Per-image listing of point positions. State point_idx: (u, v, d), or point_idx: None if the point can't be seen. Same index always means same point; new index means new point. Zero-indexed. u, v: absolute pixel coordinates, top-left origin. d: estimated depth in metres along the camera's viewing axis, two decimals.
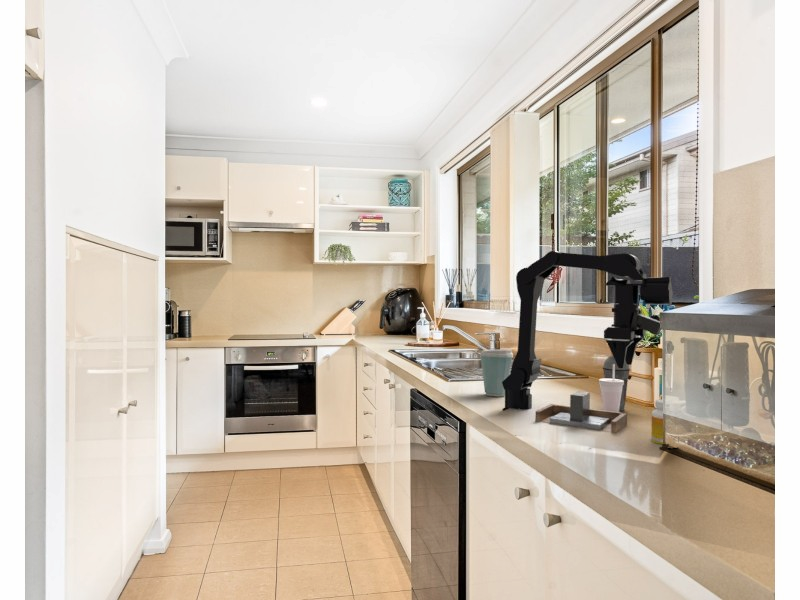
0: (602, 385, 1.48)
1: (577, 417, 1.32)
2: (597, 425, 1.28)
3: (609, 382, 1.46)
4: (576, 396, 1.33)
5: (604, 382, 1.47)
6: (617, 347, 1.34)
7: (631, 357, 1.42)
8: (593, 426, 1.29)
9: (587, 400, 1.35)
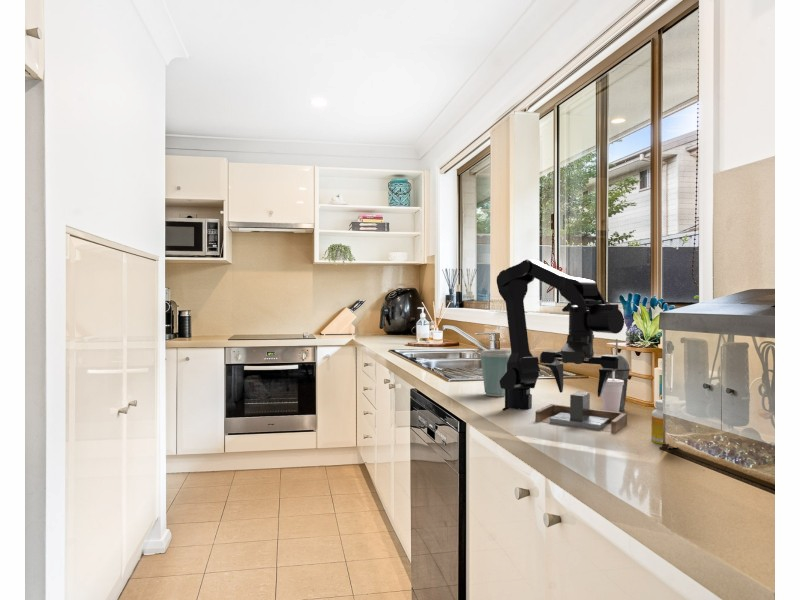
0: None
1: (577, 417, 1.32)
2: (597, 425, 1.28)
3: (609, 382, 1.46)
4: (576, 396, 1.33)
5: None
6: None
7: None
8: (593, 426, 1.29)
9: (587, 400, 1.35)
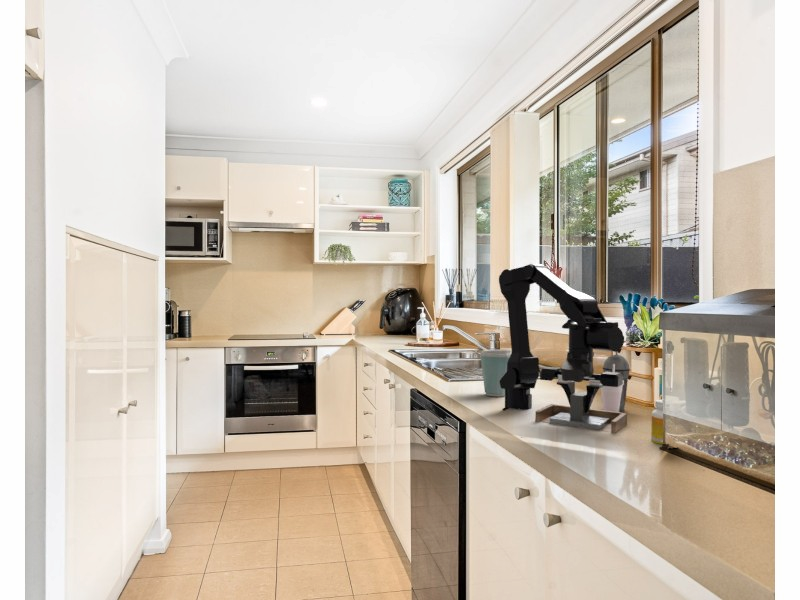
0: None
1: (577, 417, 1.32)
2: (597, 425, 1.28)
3: None
4: (576, 396, 1.33)
5: None
6: None
7: None
8: (593, 426, 1.29)
9: None
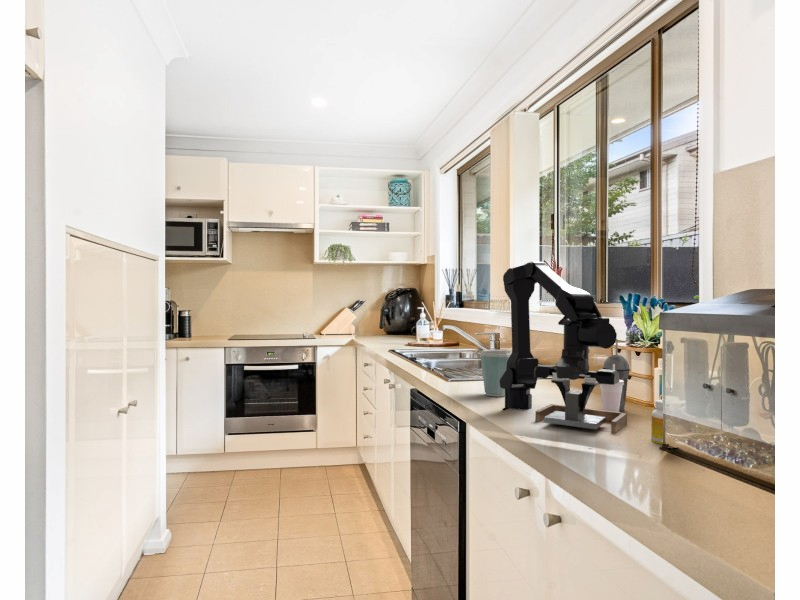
0: (602, 385, 1.48)
1: (572, 416, 1.29)
2: (593, 424, 1.25)
3: None
4: (571, 394, 1.29)
5: None
6: None
7: None
8: (589, 425, 1.25)
9: None
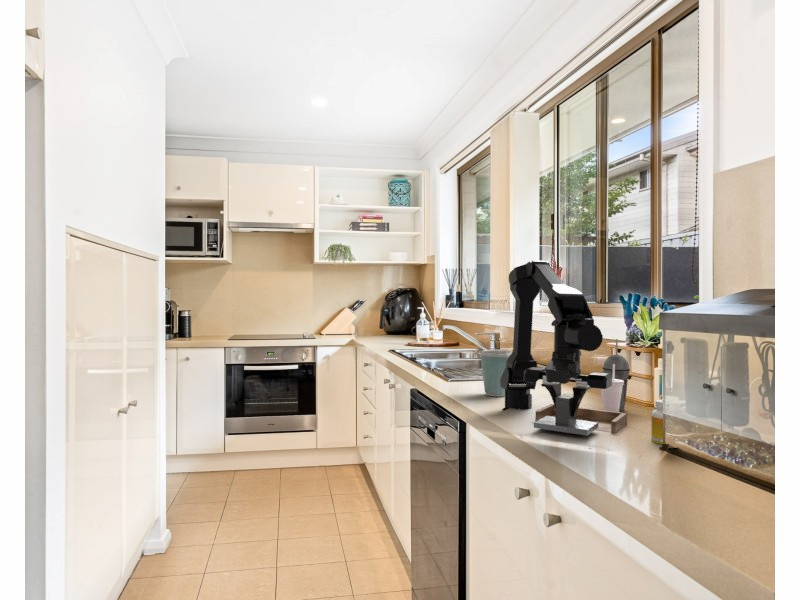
0: None
1: (563, 422, 1.23)
2: (584, 430, 1.19)
3: None
4: (562, 399, 1.23)
5: None
6: None
7: None
8: (580, 431, 1.20)
9: None
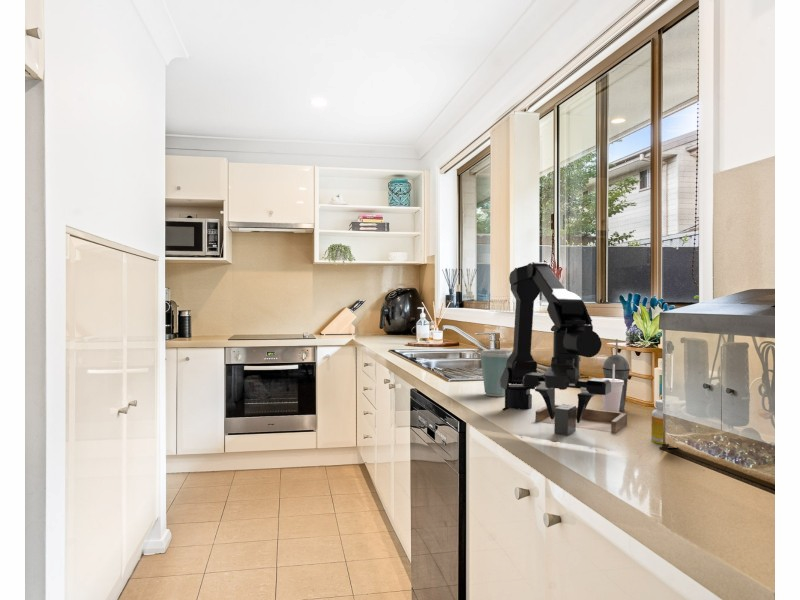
0: None
1: (561, 433, 1.23)
2: None
3: None
4: (561, 410, 1.23)
5: None
6: None
7: None
8: None
9: (573, 414, 1.26)
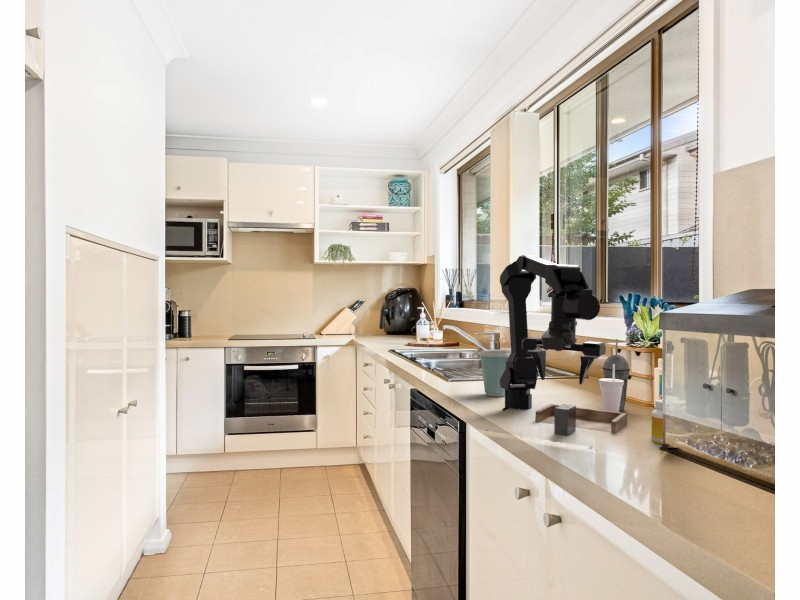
0: (602, 385, 1.48)
1: (561, 433, 1.23)
2: None
3: (609, 382, 1.46)
4: (561, 409, 1.23)
5: (604, 382, 1.47)
6: None
7: None
8: None
9: (573, 414, 1.26)
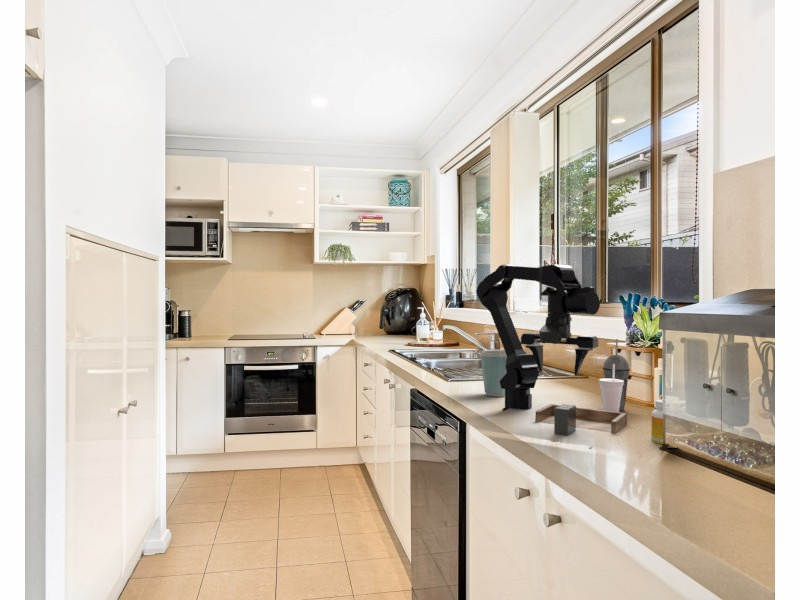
0: (602, 385, 1.48)
1: (561, 433, 1.23)
2: None
3: (609, 382, 1.46)
4: (561, 410, 1.23)
5: (604, 382, 1.47)
6: None
7: None
8: None
9: (573, 414, 1.26)
